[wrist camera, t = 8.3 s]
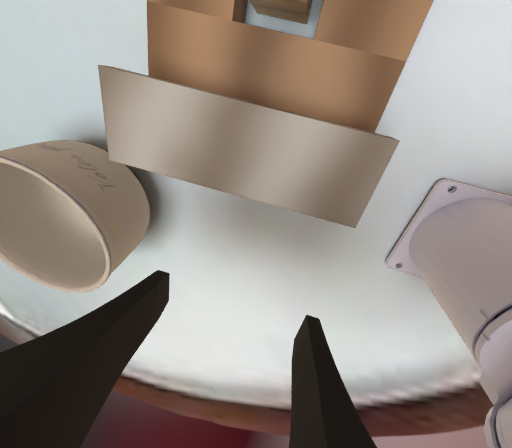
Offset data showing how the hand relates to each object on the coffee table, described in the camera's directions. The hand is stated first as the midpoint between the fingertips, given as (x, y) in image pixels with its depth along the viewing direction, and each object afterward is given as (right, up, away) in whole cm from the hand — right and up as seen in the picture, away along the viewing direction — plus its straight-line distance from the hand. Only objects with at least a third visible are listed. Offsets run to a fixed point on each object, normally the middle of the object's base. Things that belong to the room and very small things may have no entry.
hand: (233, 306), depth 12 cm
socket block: (+2, +14, +3) cm, 15 cm away
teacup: (-14, +8, +11) cm, 19 cm away
